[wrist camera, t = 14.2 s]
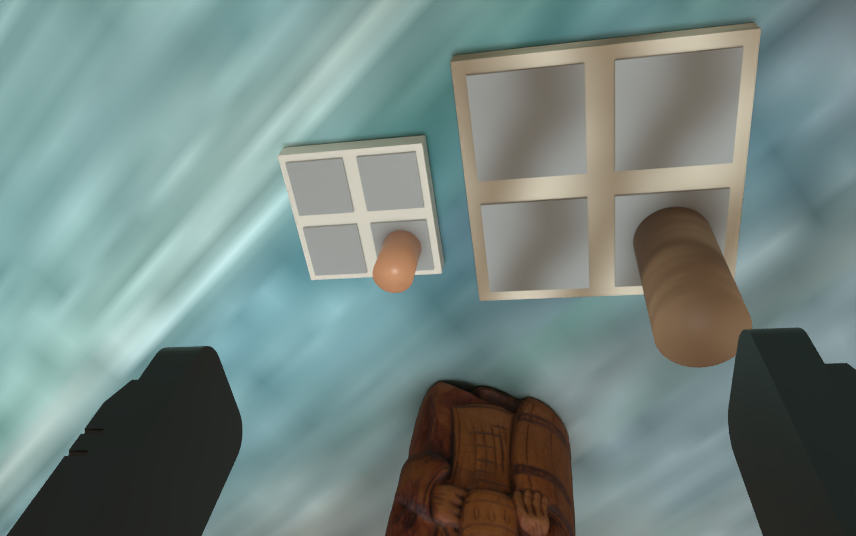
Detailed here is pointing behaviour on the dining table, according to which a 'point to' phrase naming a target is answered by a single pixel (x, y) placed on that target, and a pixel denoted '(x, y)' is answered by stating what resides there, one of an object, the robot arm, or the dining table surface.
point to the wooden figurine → (484, 468)
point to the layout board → (600, 153)
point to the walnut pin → (688, 288)
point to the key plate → (365, 209)
